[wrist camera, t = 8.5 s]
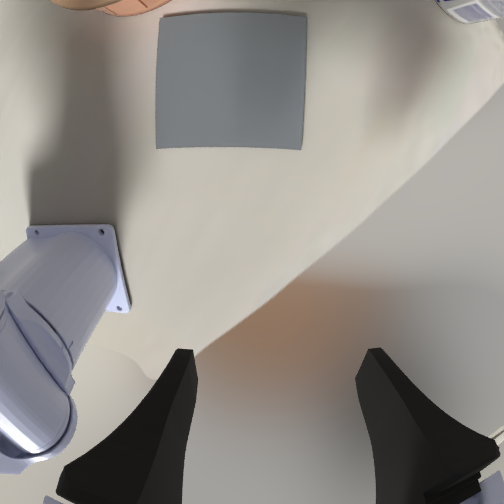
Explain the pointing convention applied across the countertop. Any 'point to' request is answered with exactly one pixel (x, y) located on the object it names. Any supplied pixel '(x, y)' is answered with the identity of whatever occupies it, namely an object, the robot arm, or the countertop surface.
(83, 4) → the lid
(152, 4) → the bowl
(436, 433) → the robot arm
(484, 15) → the energy drink
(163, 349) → the countertop surface
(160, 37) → the mat
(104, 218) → the countertop surface
